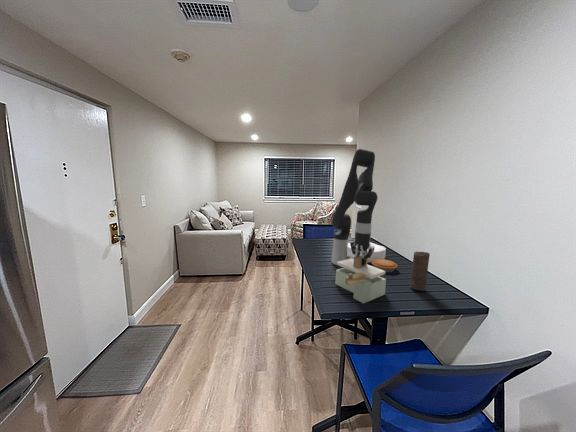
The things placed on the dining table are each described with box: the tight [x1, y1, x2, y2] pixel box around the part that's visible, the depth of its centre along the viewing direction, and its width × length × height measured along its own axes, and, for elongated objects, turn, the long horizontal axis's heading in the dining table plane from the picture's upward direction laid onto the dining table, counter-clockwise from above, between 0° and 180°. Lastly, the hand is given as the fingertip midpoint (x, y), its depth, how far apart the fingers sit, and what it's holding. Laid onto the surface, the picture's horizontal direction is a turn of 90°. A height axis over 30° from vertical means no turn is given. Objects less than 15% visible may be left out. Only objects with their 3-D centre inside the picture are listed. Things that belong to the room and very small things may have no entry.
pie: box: [371, 258, 398, 273], centre depth 160 cm, size 15×16×5 cm
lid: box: [336, 255, 386, 279], centre depth 129 cm, size 22×11×6 cm, turn 36°
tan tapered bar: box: [345, 273, 365, 286], centre depth 115 cm, size 3×10×4 cm, turn 126°
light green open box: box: [334, 267, 387, 305], centre depth 129 cm, size 22×16×10 cm
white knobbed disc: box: [347, 237, 387, 263], centre depth 185 cm, size 25×25×16 cm
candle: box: [409, 251, 430, 291], centre depth 131 cm, size 8×7×20 cm
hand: (360, 264), depth 129 cm, fingers closed on lid, 3 cm apart
